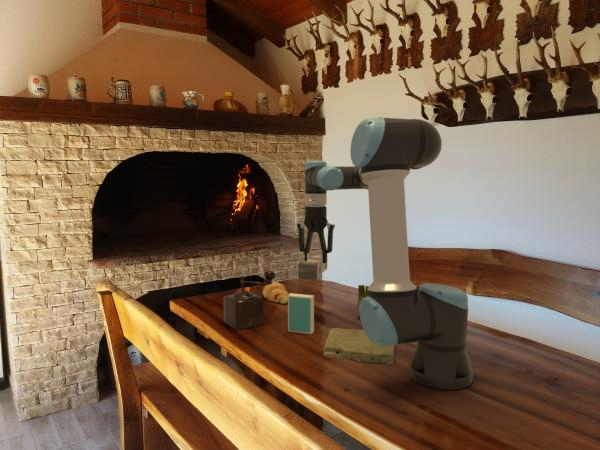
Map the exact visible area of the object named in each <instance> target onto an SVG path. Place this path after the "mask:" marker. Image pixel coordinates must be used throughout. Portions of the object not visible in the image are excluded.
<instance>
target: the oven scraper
mask: <svg viewBox="0 0 600 450" xmlns="http://www.w3.org/2000/svg"><path fill="white" fill-rule="evenodd" d="M297 266H298V271H297V272H298V273H297V274H298V275H297V276H298V277H297V278H298V280H299V279H300V280H311V281H312V280H313V281H316V280H317V279H318V276H320V275H321V274H322V273H320V254H316V255H314V256H312V258H310V259H309V260H307V261H306V262H305V261H304V262H299V263H298V265H297ZM327 269H328V261H327V262H326V263H324V272H325V271H326V270H327Z"/></svg>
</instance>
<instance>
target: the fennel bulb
mask: <svg viewBox="0 0 600 450" xmlns="http://www.w3.org/2000/svg"><path fill="white" fill-rule="evenodd" d="M369 286H370V285H365V284H358V285H357V287H358V298H357V305H356V313H357V314H356V315H357V317H358V318H359V319H360V314H359V306H360V302H361V300H362V299H364V298H365V297H368V287H369Z"/></svg>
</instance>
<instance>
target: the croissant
mask: <svg viewBox="0 0 600 450" xmlns="http://www.w3.org/2000/svg"><path fill="white" fill-rule="evenodd" d="M261 293H262V297H264V299H265V300H268V301H269V302H274V303H278V304H282V305H284V304H288V295H289V294H290V293H289V292H288V290H287V289H286V286H285V284H282V283H280V282H277V281H273V282H272V284H269V285H263V287H262V292H261Z"/></svg>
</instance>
